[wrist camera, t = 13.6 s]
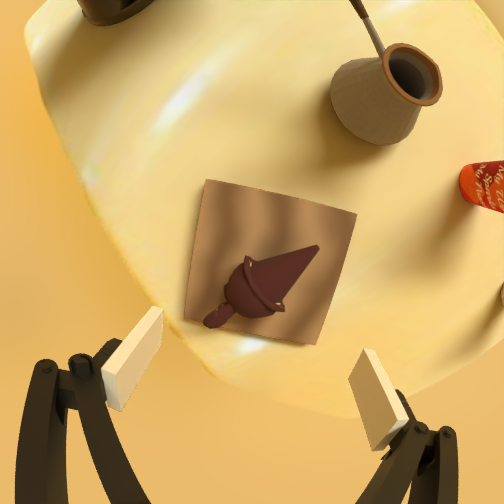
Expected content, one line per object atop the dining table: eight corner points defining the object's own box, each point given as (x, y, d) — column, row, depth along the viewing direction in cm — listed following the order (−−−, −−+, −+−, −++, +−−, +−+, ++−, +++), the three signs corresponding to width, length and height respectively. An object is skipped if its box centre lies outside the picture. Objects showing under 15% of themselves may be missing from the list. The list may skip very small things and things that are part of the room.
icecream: (293, 215, 24) (179, 300, 29) (340, 282, 24) (218, 356, 28) (301, 217, 31) (206, 287, 35) (337, 270, 30) (238, 333, 35)
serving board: (187, 310, 37) (183, 317, 35) (209, 179, 32) (205, 179, 30) (313, 337, 37) (315, 345, 35) (352, 212, 32) (357, 214, 30)
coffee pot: (419, 130, 29) (491, 111, 14) (354, 162, 31) (414, 150, 16) (336, 8, 25) (363, -55, 10) (267, 30, 26) (265, -42, 12)
